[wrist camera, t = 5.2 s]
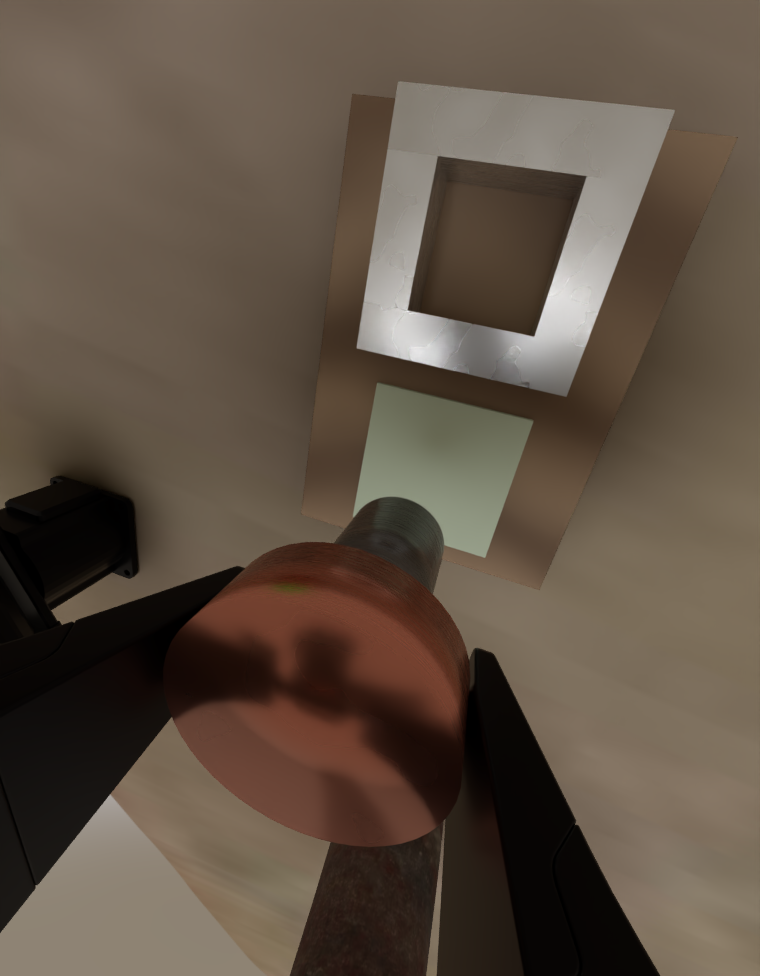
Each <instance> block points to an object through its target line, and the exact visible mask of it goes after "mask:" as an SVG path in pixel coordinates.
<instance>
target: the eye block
mask: <svg viewBox="0 0 760 976" xmlns="http://www.w3.org/2000/svg"><path fill="white" fill-rule="evenodd" d="M674 112H675V110H670V109H661V108H651V107H641V106H632V105H622V104H612V103H603V102H593V101H584V100H574V99H564V98H555V97H545V96H535V95H526V94H516V93H507V92H497V91H487V90H478V89H468V88H458V87H449V86H439V85H430V84H420V83H410V82H401V81H398V86H397V92H396V98H395V105H394V111H393V117H392V124H391V130H390V137H389V143H388V149H387V156H386V162H385V169H384V175H383V181H382V188H381V194H380V201H379V207H378V213H377V220H376V226H375V232H374V239H373V245H372V252H371V258H370V264H369V271H368V277H367V284H366V290H365V296H364V303H363V309H362V315H361V322H360V328H359V335H358V341H357V347H356V348H357V349H362V350H366V351H370V352H375V353H379V354H383V355H388V356H392V357H396V358H401V359H405V360H409V361H414V362H418V363H422V364H426V365H431V366H435V367H439V368H444V369H448V370H452V371H457V372H461V373H465V374H470V375H474V376H478V377H483V378H487V379H491V380H496V381H500V382H504V383H509V384H513V385H517V386H522V387H526V388H530V389H535V390H539V391H543V392H548V393H552V394H556V395H560V396H565V397H567V394H568V391H569V389H570V386H571V383H572V381H573V378H574V376H575V373H576V370H577V368H578V365H579V362H580V360H581V357H582V354H583V352H584V349H585V347H586V344H587V341H588V339H589V336H590V333H591V331H592V328H593V325H594V323H595V320H596V318H597V315H598V312H599V310H600V307H601V304H602V302H603V299H604V296H605V294H606V291H607V289H608V286H609V283H610V281H611V278H612V275H613V273H614V270H615V267H616V265H617V262H618V260H619V257H620V254H621V252H622V249H623V246H624V244H625V241H626V239H627V236H628V233H629V231H630V228H631V225H632V223H633V220H634V217H635V215H636V212H637V210H638V207H639V204H640V202H641V199H642V196H643V194H644V191H645V188H646V186H647V183H648V181H649V178H650V175H651V173H652V170H653V167H654V165H655V162H656V159H657V157H658V154H659V152H660V149H661V146H662V144H663V141H664V138H665V136H666V133H667V130H668V128H669V125H670V123H671V120H672V117H673V115H674ZM447 181H448V182H455V183H462V184H469V185H475V186H482V187H489V188H496V189H503V190H509V191H516V192H523V193H530V194H537V195H544V196H550V197H557V198H564V199H571V200H574V201H573V204H572V207H571V210H570V213H569V216H568V219H567V222H566V225H565V229H564V232H563V235H562V238H561V241H560V244H559V247H558V250H557V253H556V256H555V260H554V263H553V266H552V269H551V272H550V275H549V278H548V281H547V284H546V288H545V291H544V294H543V297H542V300H541V303H540V306H539V309H538V312H537V315H536V319H535V322H534V325H533V328H532V331H531V334H530V336H529V335H524V334H519V333H515V332H510V331H505V330H500V329H495V328H491V327H486V326H481V325H476V324H471V323H467V322H462V321H457V320H452V319H448V318H443V317H438V316H433V315H428V314H424V313H420V309H421V305H422V300H423V295H424V290H425V286H426V281H427V276H428V271H429V267H430V262H431V257H432V252H433V248H434V243H435V238H436V233H437V229H438V224H439V219H440V215H441V210H442V205H443V200H444V196H445V191H446V186H447Z"/></svg>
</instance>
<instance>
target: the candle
mask: <svg viewBox="0 0 760 976" xmlns="http://www.w3.org/2000/svg"><path fill="white" fill-rule="evenodd" d="M442 831H443V822H442V823H441V824H440V825H439V826H437V827H436V828H435V829H433V830H432V831H430V832H429V833H427V834H425V835H423V836H421V837H419V838H417V839H415V840H412V841H408V842H405V843H402V844H396V845H390V846H378V847H364V846H351V845H345V844H338V843H334V842H331V843H330V846H329V850H328V853H327V856H326V860H325V863H324V866H323V870H322V873H321V876H320V880H319V883H318V886H317V890H316V893H315V897H314V900H313V903H312V907H311V910H310V913H309V916H308V919H307V922H306V925H305V929H304V932H303V935H302V938H301V941H300V945H299V948H298V951H297V954H296V958H295V961H294V964H293V967H292V970H291V974H290V976H426V971H427V963H428V954H429V947H430V936H431V929H432V921H433V912H434V904H435V896H436V887H437V879H438V870H439V861H440V851H441V840H442Z"/></svg>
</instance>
